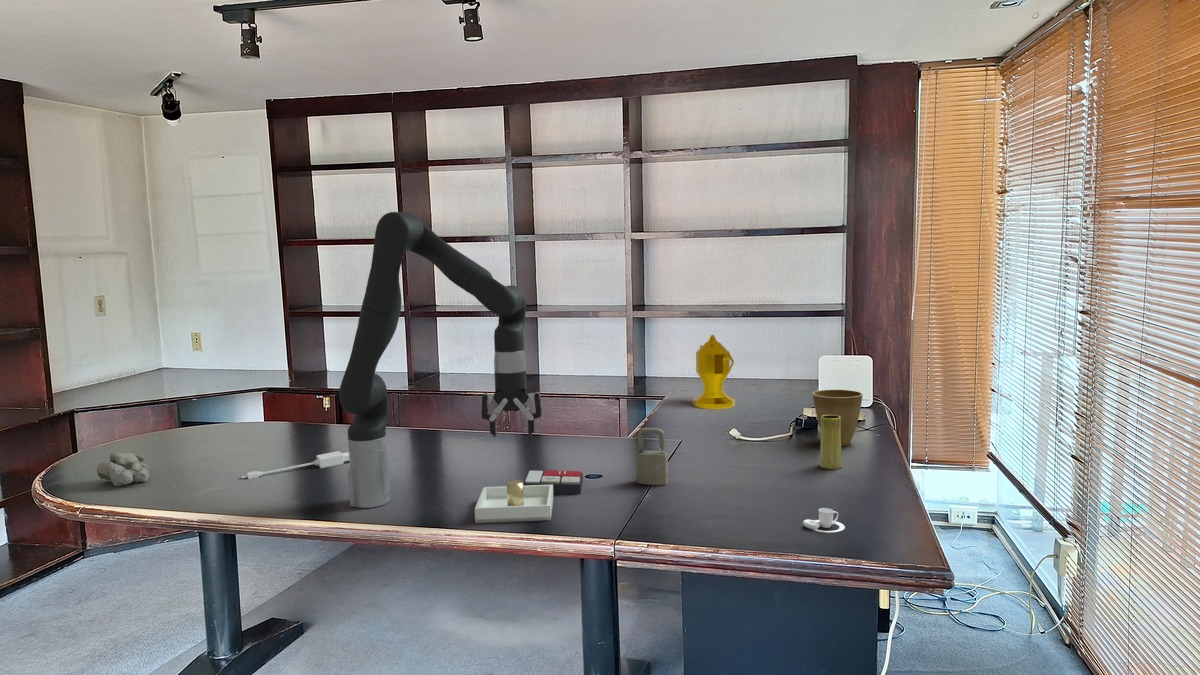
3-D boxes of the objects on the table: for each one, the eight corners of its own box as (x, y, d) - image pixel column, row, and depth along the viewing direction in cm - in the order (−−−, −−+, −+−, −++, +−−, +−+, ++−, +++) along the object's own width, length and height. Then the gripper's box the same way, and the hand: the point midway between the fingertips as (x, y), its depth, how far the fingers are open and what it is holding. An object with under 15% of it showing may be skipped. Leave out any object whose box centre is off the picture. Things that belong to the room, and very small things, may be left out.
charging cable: (241, 480, 227) (240, 469, 227) (353, 458, 244) (352, 448, 243) (243, 484, 223) (242, 473, 223) (357, 461, 239) (356, 451, 239)
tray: (475, 523, 182) (474, 508, 181) (484, 500, 198) (483, 487, 198) (550, 520, 182) (550, 505, 181) (553, 497, 198) (552, 484, 198)
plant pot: (872, 443, 241) (872, 393, 239) (841, 451, 233) (841, 399, 231) (833, 435, 253) (833, 386, 252) (802, 442, 245) (802, 392, 243)
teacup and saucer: (801, 532, 170) (801, 514, 170) (806, 520, 178) (805, 502, 177) (843, 536, 167) (843, 518, 167) (846, 523, 174) (846, 506, 174)
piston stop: (506, 509, 188) (505, 485, 187) (508, 503, 192) (507, 480, 191) (523, 509, 188) (522, 485, 187) (524, 503, 192) (523, 480, 191)
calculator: (580, 481, 200) (522, 480, 201) (580, 498, 201) (522, 496, 201) (583, 469, 211) (528, 468, 212) (582, 485, 212) (527, 483, 212)
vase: (846, 465, 218) (846, 415, 217) (835, 470, 214) (836, 419, 212) (825, 462, 222) (825, 413, 221) (815, 467, 218) (815, 417, 216)
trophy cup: (716, 397, 324) (715, 330, 321) (750, 407, 302) (750, 335, 299) (680, 401, 317) (678, 333, 314) (712, 412, 295) (711, 339, 292)
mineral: (119, 486, 214) (134, 450, 217) (78, 477, 221) (93, 443, 224) (156, 495, 224) (170, 461, 228) (116, 486, 231) (130, 454, 234)
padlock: (665, 486, 205) (664, 430, 204) (635, 483, 208) (634, 429, 206) (669, 481, 209) (667, 427, 207) (640, 479, 212) (638, 425, 210)
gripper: (478, 372, 182) (481, 440, 184) (538, 370, 182) (541, 438, 184) (482, 367, 190) (485, 432, 192) (540, 366, 190) (542, 431, 192)
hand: (512, 435), depth 188 cm, fingers open, 8 cm apart
